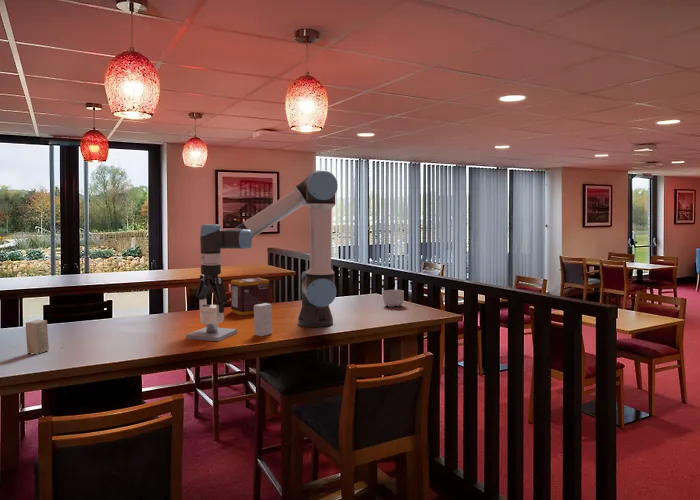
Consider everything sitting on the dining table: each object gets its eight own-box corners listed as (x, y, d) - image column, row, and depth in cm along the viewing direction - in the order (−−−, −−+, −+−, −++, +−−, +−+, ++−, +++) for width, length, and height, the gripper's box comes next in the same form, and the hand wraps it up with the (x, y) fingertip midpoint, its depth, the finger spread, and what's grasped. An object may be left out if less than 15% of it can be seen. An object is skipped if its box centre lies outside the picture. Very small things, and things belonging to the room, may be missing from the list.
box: (39, 350, 182) (38, 319, 181) (49, 351, 181) (48, 319, 180) (26, 354, 177) (24, 322, 176) (36, 355, 176) (34, 323, 175)
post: (220, 331, 205) (219, 310, 204) (214, 333, 200) (213, 313, 200) (210, 330, 206) (209, 310, 205) (204, 332, 202) (203, 312, 201)
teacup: (397, 309, 258) (397, 293, 257) (378, 306, 264) (378, 291, 263) (410, 304, 269) (410, 289, 269) (391, 302, 275) (391, 287, 275)
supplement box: (270, 311, 251) (269, 279, 250) (241, 315, 242) (240, 282, 240) (259, 308, 259) (258, 277, 258) (230, 312, 249) (230, 280, 248)
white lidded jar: (225, 320, 206) (225, 303, 205) (215, 324, 198) (215, 307, 197) (207, 319, 208) (207, 302, 207) (196, 323, 200) (196, 306, 199)
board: (237, 332, 208) (237, 329, 208) (218, 341, 195) (218, 337, 194) (206, 330, 212) (206, 326, 212) (186, 338, 199) (186, 334, 198)
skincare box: (265, 332, 209) (265, 302, 208) (272, 333, 207) (272, 304, 206) (253, 334, 205) (253, 304, 204) (260, 336, 202) (260, 306, 201)
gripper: (186, 262, 208) (187, 314, 209) (218, 267, 189) (218, 325, 191) (204, 261, 213) (205, 312, 214) (236, 266, 195) (236, 322, 196)
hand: (211, 318), depth 203 cm, fingers open, 13 cm apart
